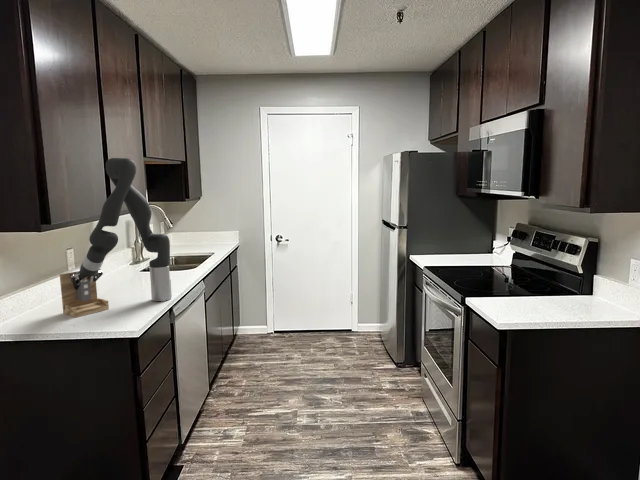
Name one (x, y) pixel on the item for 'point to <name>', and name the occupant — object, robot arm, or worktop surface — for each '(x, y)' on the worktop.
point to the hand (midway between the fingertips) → (81, 287)
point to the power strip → (84, 290)
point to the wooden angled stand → (76, 306)
